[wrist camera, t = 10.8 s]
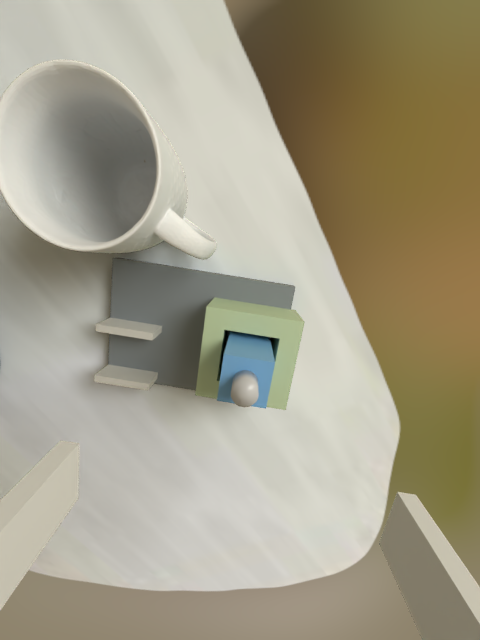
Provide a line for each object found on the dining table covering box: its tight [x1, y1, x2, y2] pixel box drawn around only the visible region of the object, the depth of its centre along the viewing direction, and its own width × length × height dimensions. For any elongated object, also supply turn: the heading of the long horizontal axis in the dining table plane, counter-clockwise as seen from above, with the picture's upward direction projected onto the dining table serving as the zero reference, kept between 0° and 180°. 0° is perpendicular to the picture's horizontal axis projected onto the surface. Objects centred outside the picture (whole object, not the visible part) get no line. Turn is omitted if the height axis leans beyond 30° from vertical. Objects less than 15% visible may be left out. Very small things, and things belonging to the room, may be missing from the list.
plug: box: [217, 331, 275, 408], centre depth 26 cm, size 4×4×12 cm
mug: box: [0, 60, 217, 260], centre depth 24 cm, size 15×11×13 cm
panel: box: [94, 258, 295, 391], centre depth 31 cm, size 20×14×4 cm
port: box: [195, 297, 304, 410], centre depth 29 cm, size 9×9×6 cm
